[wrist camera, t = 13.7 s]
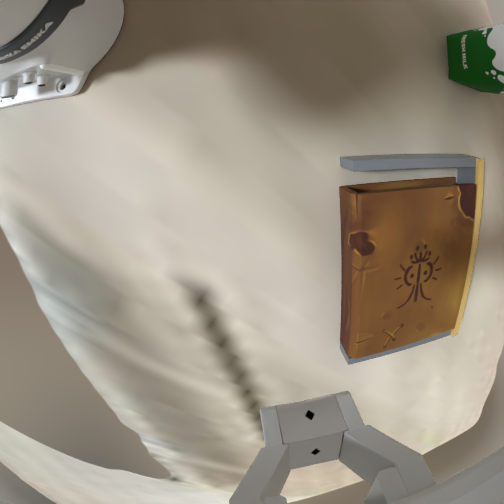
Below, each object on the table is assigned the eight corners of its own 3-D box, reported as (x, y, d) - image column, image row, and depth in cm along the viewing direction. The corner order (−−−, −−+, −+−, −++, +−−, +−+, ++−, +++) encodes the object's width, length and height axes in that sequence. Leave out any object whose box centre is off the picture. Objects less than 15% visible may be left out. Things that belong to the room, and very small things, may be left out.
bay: (339, 348, 46) (349, 367, 42) (339, 156, 35) (355, 161, 31) (443, 320, 47) (457, 334, 43) (463, 154, 36) (484, 159, 32)
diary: (336, 185, 37) (354, 195, 32) (450, 176, 38) (476, 184, 33) (338, 337, 46) (350, 361, 41) (437, 311, 47) (455, 329, 41)
